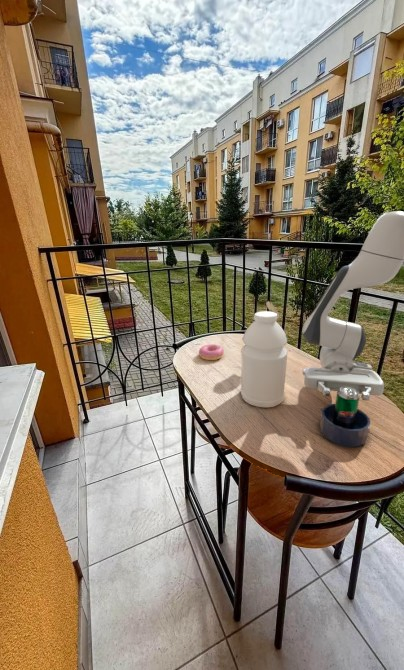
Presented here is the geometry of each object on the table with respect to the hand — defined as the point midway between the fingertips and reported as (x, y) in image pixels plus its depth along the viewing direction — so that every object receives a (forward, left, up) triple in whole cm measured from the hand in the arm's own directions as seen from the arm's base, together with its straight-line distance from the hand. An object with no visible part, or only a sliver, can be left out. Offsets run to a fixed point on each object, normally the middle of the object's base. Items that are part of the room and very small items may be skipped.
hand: (346, 396), depth 73 cm
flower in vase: (+15, -39, -10) cm, 43 cm away
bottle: (+20, -14, -10) cm, 26 cm away
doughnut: (+38, -45, -10) cm, 60 cm away
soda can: (+1, +2, -9) cm, 10 cm away
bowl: (+1, +3, -9) cm, 10 cm away
